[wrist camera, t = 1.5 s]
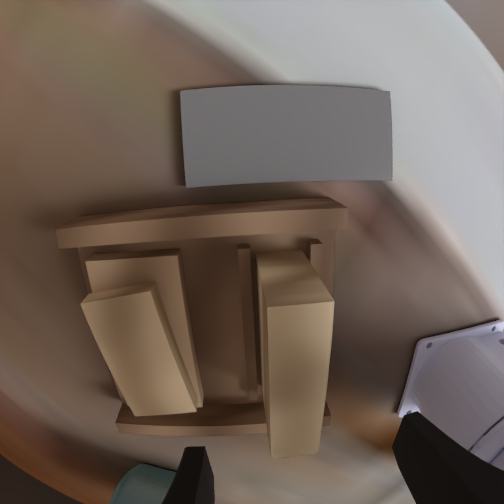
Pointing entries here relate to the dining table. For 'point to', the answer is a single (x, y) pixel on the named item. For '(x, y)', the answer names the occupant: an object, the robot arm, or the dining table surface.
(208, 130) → the slate coaster
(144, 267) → the offcut board lower
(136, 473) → the flower pot
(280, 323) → the tall block
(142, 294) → the offcut board upper
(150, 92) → the dining table surface
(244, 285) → the rack
